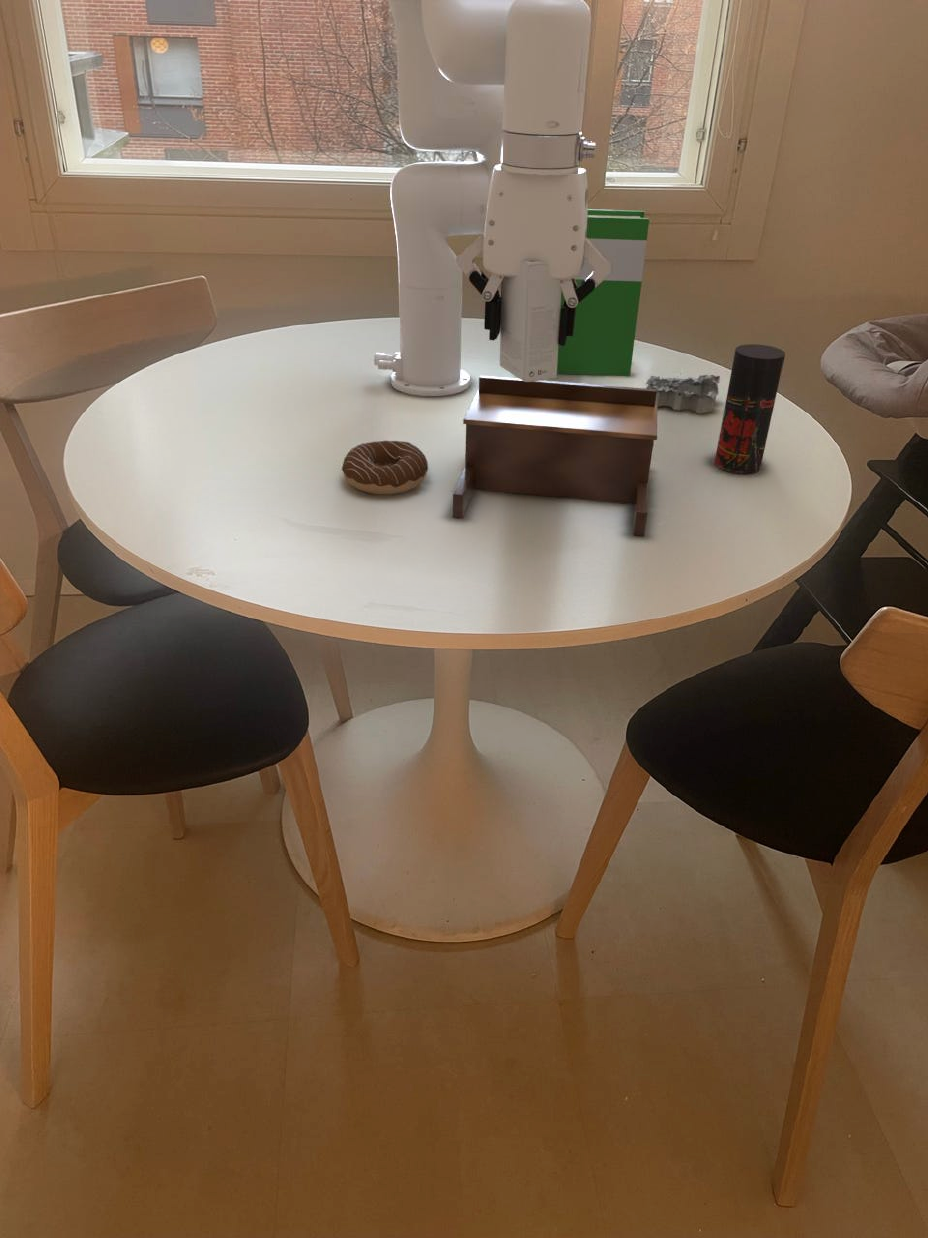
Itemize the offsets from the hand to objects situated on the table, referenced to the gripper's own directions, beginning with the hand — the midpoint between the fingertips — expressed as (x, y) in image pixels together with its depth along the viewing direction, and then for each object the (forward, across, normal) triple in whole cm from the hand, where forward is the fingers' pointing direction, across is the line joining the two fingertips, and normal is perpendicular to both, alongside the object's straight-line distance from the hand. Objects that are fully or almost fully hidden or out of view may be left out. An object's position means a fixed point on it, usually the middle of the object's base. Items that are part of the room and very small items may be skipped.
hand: (528, 337), depth 96 cm
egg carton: (+21, -20, -40) cm, 50 cm away
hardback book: (+21, -3, -54) cm, 58 cm away
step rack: (+20, -4, -4) cm, 21 cm away
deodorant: (+20, -27, -18) cm, 38 cm away
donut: (+20, +17, -3) cm, 27 cm away
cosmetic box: (+4, 0, 0) cm, 4 cm away
